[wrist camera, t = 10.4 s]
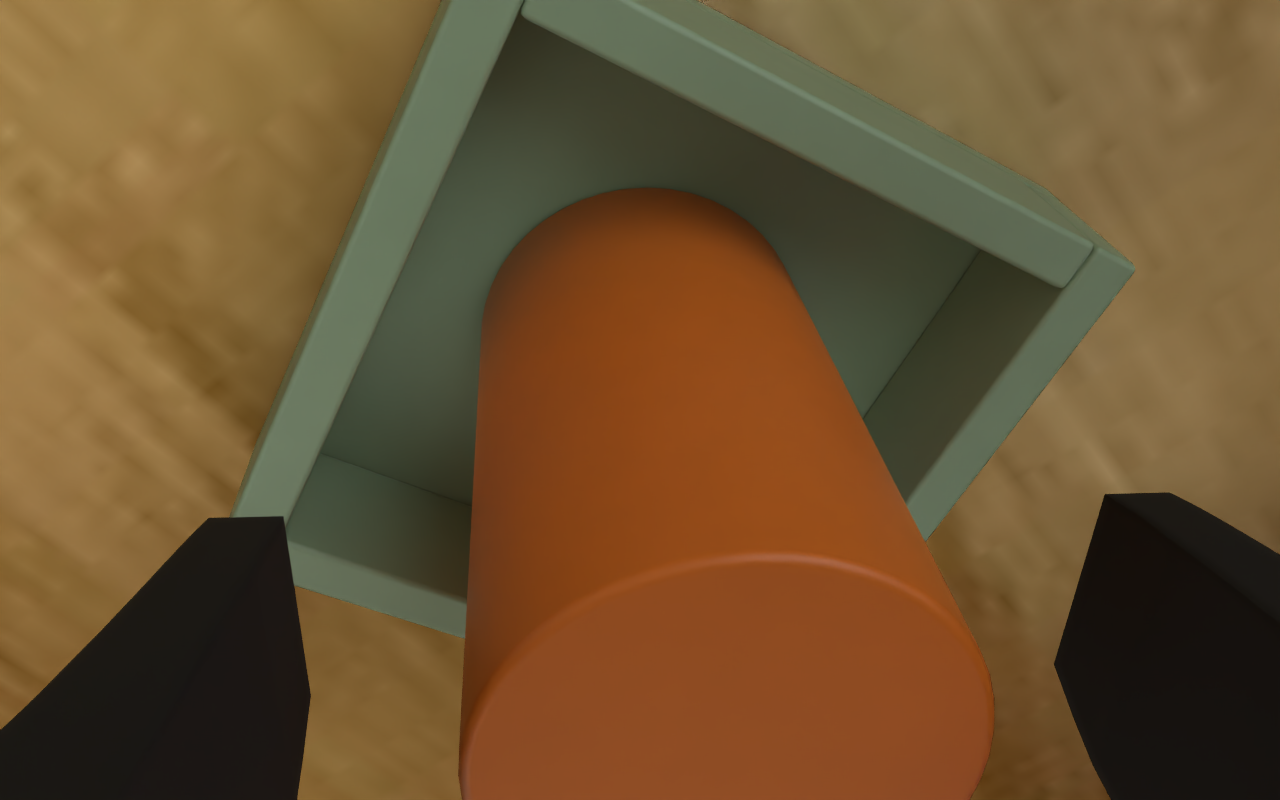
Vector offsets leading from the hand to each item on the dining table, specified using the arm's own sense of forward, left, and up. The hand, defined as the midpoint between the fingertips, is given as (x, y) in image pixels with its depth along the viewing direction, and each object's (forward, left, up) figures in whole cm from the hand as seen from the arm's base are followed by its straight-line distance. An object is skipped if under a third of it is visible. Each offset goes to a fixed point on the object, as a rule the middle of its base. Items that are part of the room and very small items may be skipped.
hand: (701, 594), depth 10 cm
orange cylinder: (0, 0, -5) cm, 5 cm away
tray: (0, 0, -6) cm, 6 cm away
